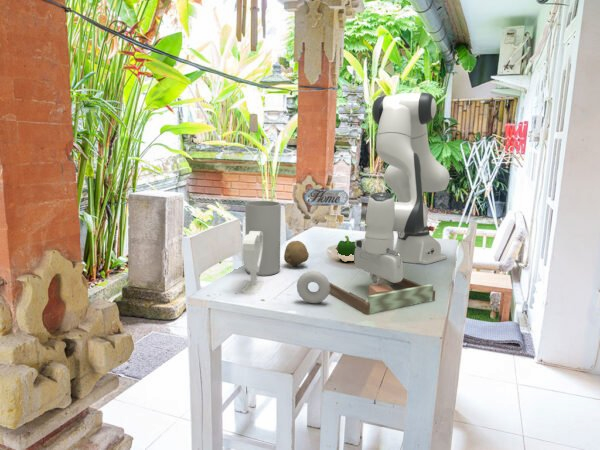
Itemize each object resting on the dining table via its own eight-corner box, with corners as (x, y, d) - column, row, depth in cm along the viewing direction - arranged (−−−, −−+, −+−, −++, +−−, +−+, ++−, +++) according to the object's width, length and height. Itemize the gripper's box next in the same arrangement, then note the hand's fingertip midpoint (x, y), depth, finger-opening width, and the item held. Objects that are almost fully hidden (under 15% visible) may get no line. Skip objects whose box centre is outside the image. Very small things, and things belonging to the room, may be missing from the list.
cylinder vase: (281, 275, 164) (282, 206, 159) (246, 276, 161) (246, 206, 157) (277, 265, 176) (278, 200, 171) (244, 266, 174) (244, 201, 169)
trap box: (382, 277, 163) (383, 264, 162) (434, 300, 142) (435, 284, 141) (320, 288, 151) (320, 273, 150) (366, 314, 130) (367, 297, 129)
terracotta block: (386, 296, 145) (387, 284, 144) (394, 303, 140) (395, 290, 139) (368, 297, 144) (369, 285, 143) (375, 304, 138) (376, 291, 137)
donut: (295, 303, 137) (296, 271, 135) (297, 299, 140) (298, 268, 138) (328, 306, 135) (330, 273, 133) (330, 302, 139) (331, 270, 137)
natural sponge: (312, 265, 177) (313, 240, 175) (300, 271, 169) (301, 244, 167) (292, 262, 181) (292, 237, 179) (280, 267, 174) (280, 241, 172)
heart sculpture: (256, 295, 143) (256, 238, 140) (240, 294, 144) (240, 238, 140) (265, 279, 159) (265, 228, 155) (250, 279, 159) (250, 228, 156)
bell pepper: (356, 264, 179) (357, 239, 177) (335, 263, 181) (336, 238, 179) (358, 259, 187) (359, 235, 185) (338, 257, 189) (339, 234, 187)
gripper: (409, 252, 136) (406, 296, 138) (367, 238, 153) (365, 277, 156) (393, 254, 133) (390, 300, 135) (351, 239, 150) (349, 280, 153)
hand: (376, 288), depth 146 cm, fingers closed
